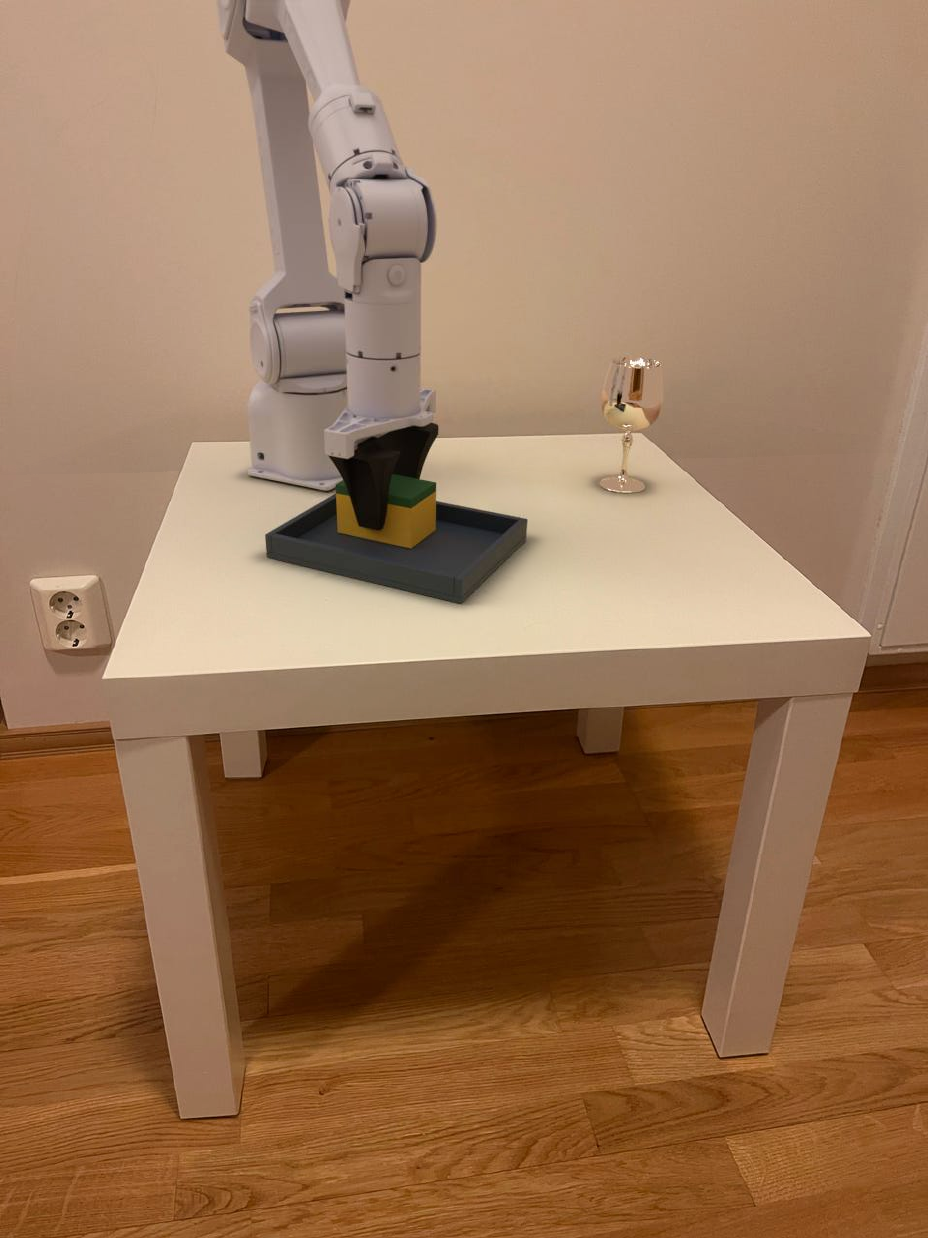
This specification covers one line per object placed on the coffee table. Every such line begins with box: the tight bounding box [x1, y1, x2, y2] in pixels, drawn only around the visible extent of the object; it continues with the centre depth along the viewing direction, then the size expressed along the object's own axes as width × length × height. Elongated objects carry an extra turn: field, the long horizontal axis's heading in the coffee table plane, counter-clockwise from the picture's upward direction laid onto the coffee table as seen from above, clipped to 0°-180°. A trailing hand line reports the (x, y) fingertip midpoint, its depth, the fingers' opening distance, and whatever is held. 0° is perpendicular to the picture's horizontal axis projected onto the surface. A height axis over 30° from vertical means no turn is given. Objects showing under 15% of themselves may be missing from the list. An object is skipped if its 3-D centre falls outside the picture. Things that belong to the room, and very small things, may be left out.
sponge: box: [335, 474, 437, 549], centre depth 76 cm, size 7×4×4 cm, turn 65°
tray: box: [264, 492, 528, 605], centre depth 74 cm, size 17×13×2 cm
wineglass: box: [599, 356, 665, 494], centre depth 87 cm, size 6×6×12 cm
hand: (385, 517), depth 76 cm, fingers closed on sponge, 4 cm apart
